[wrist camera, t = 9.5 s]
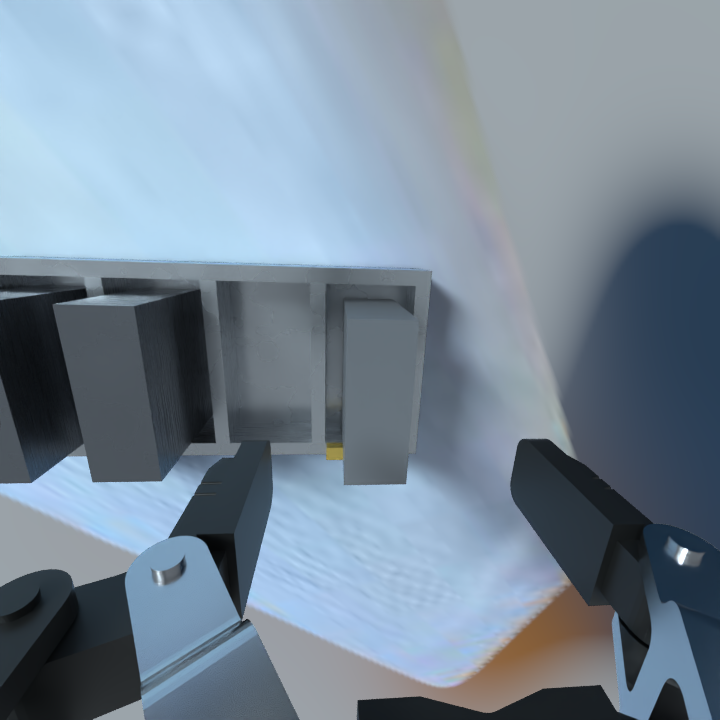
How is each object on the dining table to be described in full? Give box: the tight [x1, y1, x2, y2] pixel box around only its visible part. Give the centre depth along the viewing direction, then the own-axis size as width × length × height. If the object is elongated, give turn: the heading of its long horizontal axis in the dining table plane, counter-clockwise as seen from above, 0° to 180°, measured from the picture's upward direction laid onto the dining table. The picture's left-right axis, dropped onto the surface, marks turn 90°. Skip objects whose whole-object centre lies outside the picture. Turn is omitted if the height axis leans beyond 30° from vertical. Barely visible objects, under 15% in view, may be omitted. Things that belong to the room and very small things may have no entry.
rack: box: [0, 256, 432, 483], centre depth 18 cm, size 23×11×8 cm, turn 88°
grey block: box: [342, 298, 419, 485], centre depth 19 cm, size 8×3×7 cm, turn 178°
